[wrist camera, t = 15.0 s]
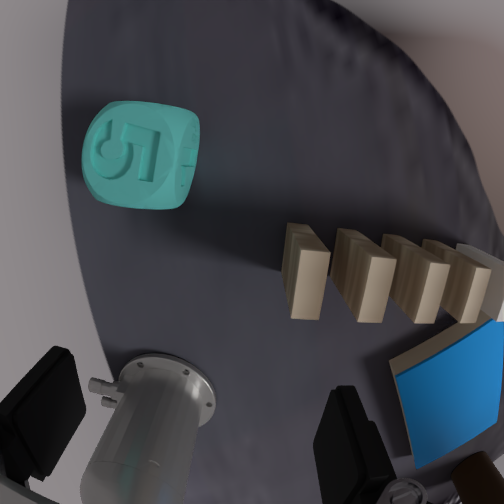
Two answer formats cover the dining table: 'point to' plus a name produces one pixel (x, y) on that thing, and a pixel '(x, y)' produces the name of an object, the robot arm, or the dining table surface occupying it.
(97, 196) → the decorative dice
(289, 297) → the domino
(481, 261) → the end domino
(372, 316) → the domino
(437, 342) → the book
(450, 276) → the domino
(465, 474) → the olive oil
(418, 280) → the domino
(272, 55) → the dining table surface
